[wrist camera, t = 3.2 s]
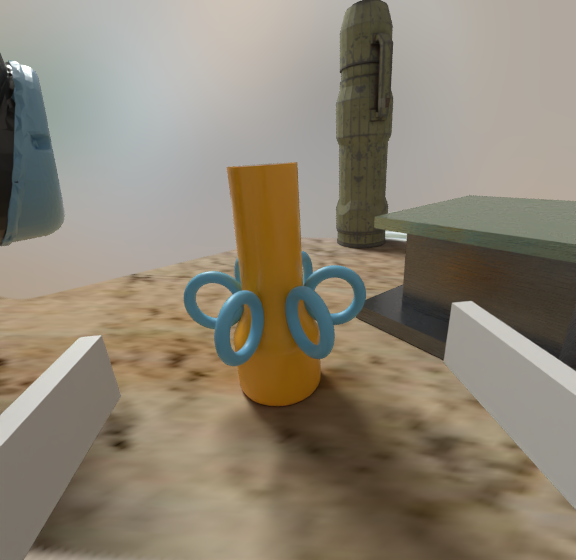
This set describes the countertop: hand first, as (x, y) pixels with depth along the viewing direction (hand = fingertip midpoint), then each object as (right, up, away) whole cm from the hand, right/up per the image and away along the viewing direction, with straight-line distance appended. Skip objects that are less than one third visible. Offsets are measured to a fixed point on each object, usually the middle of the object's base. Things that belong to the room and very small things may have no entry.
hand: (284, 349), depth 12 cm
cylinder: (0, -5, +11) cm, 12 cm away
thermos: (+14, +10, +46) cm, 49 cm away
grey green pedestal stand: (+19, -1, +17) cm, 26 cm away
